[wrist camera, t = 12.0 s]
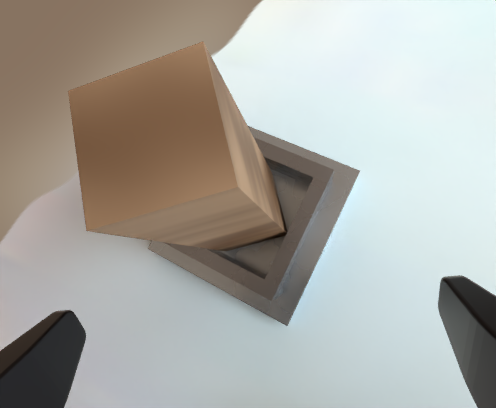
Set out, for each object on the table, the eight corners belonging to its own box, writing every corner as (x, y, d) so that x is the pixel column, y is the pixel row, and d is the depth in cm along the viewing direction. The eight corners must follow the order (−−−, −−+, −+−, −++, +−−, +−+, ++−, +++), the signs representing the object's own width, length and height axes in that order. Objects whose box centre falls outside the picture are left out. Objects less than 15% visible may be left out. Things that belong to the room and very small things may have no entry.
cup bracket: (289, 322, 21) (282, 334, 17) (156, 249, 23) (126, 246, 20) (357, 175, 21) (365, 158, 18) (221, 120, 24) (204, 95, 20)
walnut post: (288, 235, 20) (238, 186, 8) (225, 251, 21) (86, 230, 9) (272, 172, 21) (203, 41, 9) (212, 190, 22) (68, 90, 9)
